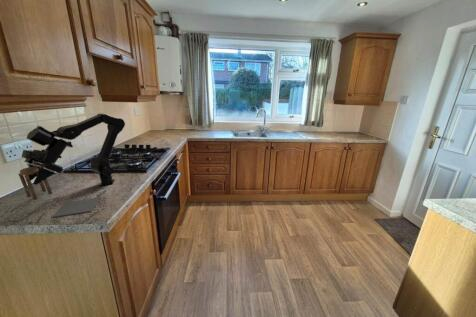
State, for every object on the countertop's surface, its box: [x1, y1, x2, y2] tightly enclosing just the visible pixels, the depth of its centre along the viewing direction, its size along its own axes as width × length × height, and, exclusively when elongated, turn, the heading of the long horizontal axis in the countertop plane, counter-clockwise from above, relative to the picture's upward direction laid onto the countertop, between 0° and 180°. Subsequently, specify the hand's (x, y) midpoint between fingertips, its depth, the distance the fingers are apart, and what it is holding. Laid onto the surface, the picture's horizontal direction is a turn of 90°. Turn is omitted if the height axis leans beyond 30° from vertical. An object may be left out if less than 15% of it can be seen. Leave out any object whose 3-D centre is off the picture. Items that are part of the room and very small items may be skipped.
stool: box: [18, 166, 53, 201], centre depth 88 cm, size 6×6×12 cm
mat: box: [52, 197, 100, 218], centre depth 93 cm, size 12×14×1 cm
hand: (30, 182), depth 86 cm, fingers closed on stool, 6 cm apart
